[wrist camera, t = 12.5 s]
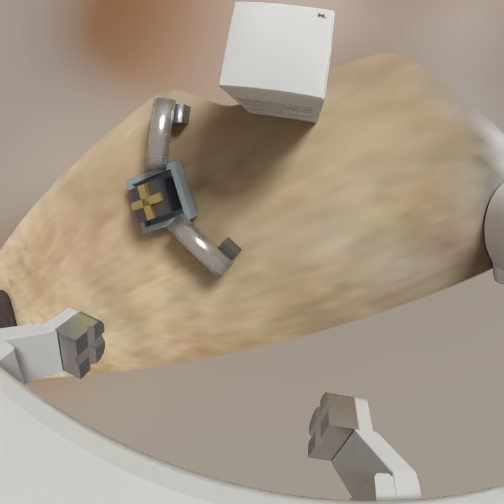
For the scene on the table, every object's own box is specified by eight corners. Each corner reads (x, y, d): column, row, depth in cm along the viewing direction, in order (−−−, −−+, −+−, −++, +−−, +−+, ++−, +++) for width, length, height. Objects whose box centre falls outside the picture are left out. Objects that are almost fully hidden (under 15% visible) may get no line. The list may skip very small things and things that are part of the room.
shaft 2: (175, 227, 42) (160, 235, 37) (194, 204, 41) (180, 210, 36) (221, 272, 43) (211, 285, 38) (242, 250, 41) (234, 262, 36)
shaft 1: (182, 169, 39) (166, 171, 35) (153, 167, 40) (135, 168, 35) (191, 105, 37) (176, 98, 32) (161, 104, 37) (144, 98, 33)
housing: (180, 161, 39) (173, 161, 37) (197, 215, 41) (191, 218, 39) (134, 179, 41) (125, 181, 39) (150, 230, 43) (142, 234, 40)
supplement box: (257, 51, 33) (232, -3, 19) (326, 61, 32) (337, 8, 18) (247, 114, 36) (214, 86, 22) (317, 125, 35) (326, 100, 21)
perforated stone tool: (2, 283, 54) (-18, 293, 47) (13, 290, 53) (-7, 301, 46) (11, 333, 58) (-6, 345, 52) (23, 341, 58) (5, 354, 51)
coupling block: (172, 176, 39) (155, 178, 34) (182, 208, 40) (166, 214, 35) (145, 187, 40) (126, 190, 35) (154, 217, 41) (136, 224, 36)
